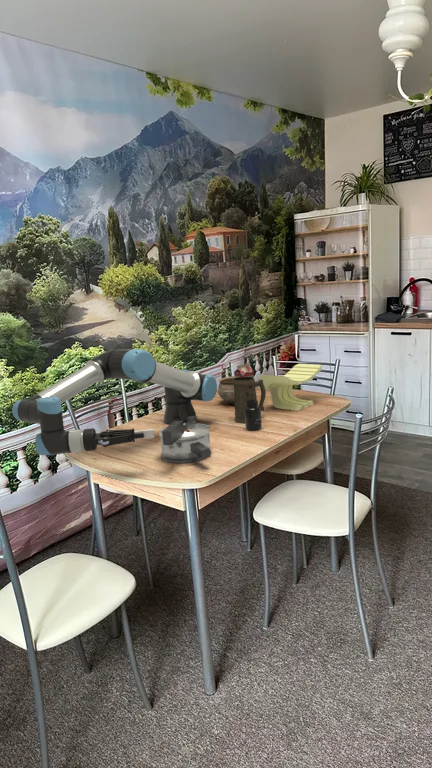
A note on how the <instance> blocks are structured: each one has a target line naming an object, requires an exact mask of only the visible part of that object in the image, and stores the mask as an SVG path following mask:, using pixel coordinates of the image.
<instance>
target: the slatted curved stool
mask: <svg viewBox="0 0 432 768" xmlns="http://www.w3.org/2000/svg"><path fill="white" fill-rule="evenodd" d="M321 371H322V364H313V363H312V364H309V363H297V364H295V365H293V367H292V368H291V369H290V370H289V371H288V372H286V374H284V375H272V374H271V375H270V374H261V375H260V376H259V377H258V380H257V381H259V380H263V384H264V387H265V390H266V391H268V390H269V392H270V395H271V396H270V397H271V402H272V406H274V408H276V409H280V410H281V409H282V410H289V409H290V410H291V411H297V410H299V411H301V410H303V409H306V408H308V407H311V406H313V405H314V402H313V400H307V399H301V398H298V397H296V396H295V395H293V393H292V391H293V388H294V387H293V386H298V385H301V384H304V383H307V382H309V381H313V378H316V375H319V374H320V372H321ZM258 391H261V388H260V386H258Z"/></svg>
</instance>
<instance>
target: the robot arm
mask: <svg viewBox="0 0 432 768" xmlns="http://www.w3.org/2000/svg"><path fill="white" fill-rule="evenodd" d="M111 379H112V380H113V379H119V380H128V381H132V382H136V383H138V384H139V383H140V384H147V383H151V384H156V385H158V386H162V387H164V396H165V404H166V405H165V411H164V415H163V422H164V423H165V424H167V425H170V424H171V423H173V422H174V421H183V423H188V422H187V418H188V417H189V416H196V418H198V417H197V413H196V411H195V408H194V406H193V404H192V401H199V402H204V403H205V402H211V401H213V400H214V398H216V397H215V396H216V395H217V393H218V383H217V380H216V379H217V378H216V377H214V375H211V374H202V373H199V372H197V371H194V370H188V369H179V368H175V367H173V366H169V365H167V364H165V363H161V362H159V361H156V359H155V357H154V356H153V355H152V354H151V353H150V352H149V351H147V350H145V349H140V348H134V349H133V348H128V349H127V348H113V349H110V350H107V351H104V352H102V353H100V354H98V355H96V356H95V357H93V358H91V359H89V360H88V361H87V362H86V363H85V365H84V366H83V367H81V368H79V369H78V370H76V371H74V372H73V373H71V374H68V376H66V377H64V378H62V379H61V380H58V381H57V382H55V383H53V384H52V385H50V386H49V387H47V388H45V389H43V390H42V391H40V392H38V393H37V394H35V395H33V396H31V397H29V398H28V399H27V398H26V399H25V398H24V399H19V400H17V401H15V402H14V403H13V405H12V407H11V408H12V409H11V411H12V416H13V417H14V419H16V420H18V421H20V422H24V423H31V424H38V425H39V427H40V433H37V434H36V435H35V439H34V441H35V450H36V454H38V455H39V456H56V455H64V454H71V453H72V454H73V453H75V454H79V453H82V452H84V451H85V452H93V451H97V449H98V446H101V447H103V448H106V447H111V446H116V445H121V444H127V443H135V442H136V440H145V439H155V431H154V428H150V429H139V430H135V428H133V427H132V428H131V429H105V431H100V432H98V433H97V430H96V429H95V428H93V427H91V428H84V429H72V430H65V423H64V417H63V407H62V404H63V403H65V402H67V401H68V400H70V399H72V398H74V397H75V396H77V395H79V394H80V393H81V392H83V391H85V390H86V389H88V388H89V387H91V386H93V385H95V384H96V383H97V384H100V383H102V382H104V381H107V380H111Z"/></svg>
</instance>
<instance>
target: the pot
mask: <svg viewBox="0 0 432 768" xmlns="http://www.w3.org/2000/svg"><path fill="white" fill-rule="evenodd" d="M159 438H160V437H159ZM210 438H211V437H210V433H209V434H207V435H206V436H204V437H201V438H198V439H194V440H187V441H176V442H175V443H174V444H173V445H163V439H161V438H160V446H161V459H162V460H163V461H164V462H166V461H167V462H166V463H169V462H170V463H171V464H191V463H196V462H200V461H203V460H205V459H207V458H210V457H211V455H212V449H211V439H210Z"/></svg>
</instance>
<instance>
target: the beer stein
mask: <svg viewBox="0 0 432 768" xmlns="http://www.w3.org/2000/svg"><path fill="white" fill-rule="evenodd" d="M258 380H259V379H258ZM258 380H257V381H256V380H255V377H254V378H253V377H237V378H234V379H233V385H234V399H235V404H234V421H235V422H236V423H240V424H245V408H246V407H247V406H246V404H247V401H249V400H257V401H258V398H257V391H256V387H257V386H258V387H259V386H260V388H261V390H260V399H259V403H258V407H260V409H261V412H264V411H265V406H264V403H265V400H266V393H267V392H266V390H265V387H264V384H263V380H259V381H258Z"/></svg>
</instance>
